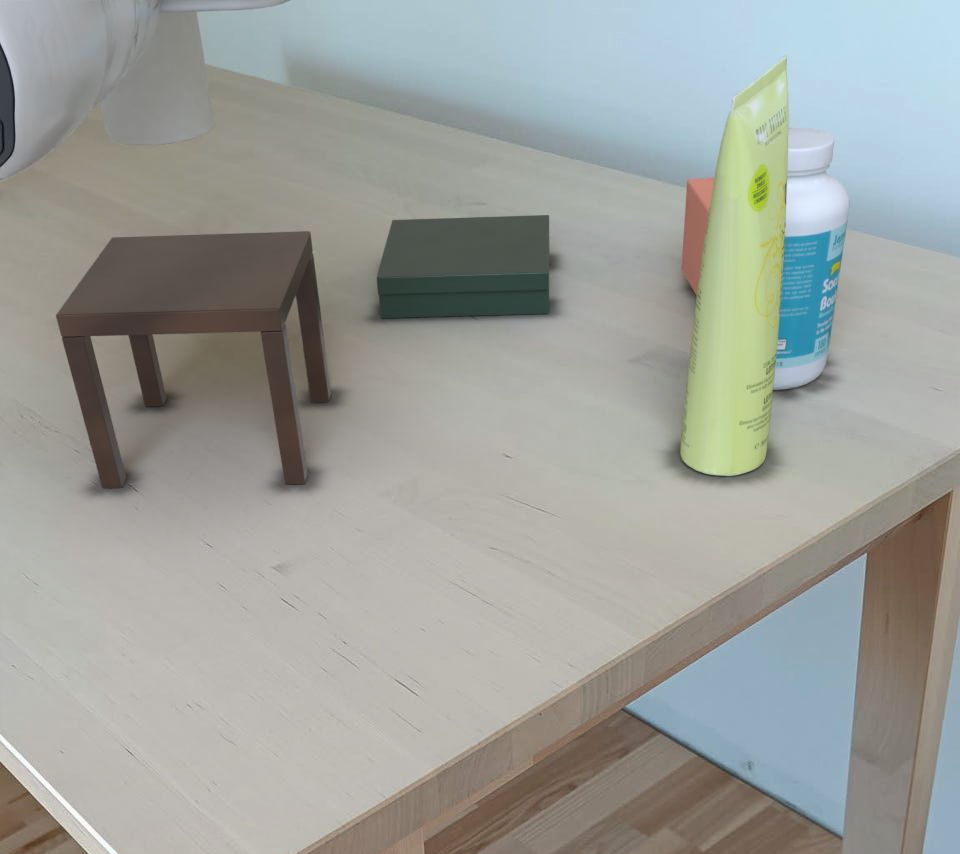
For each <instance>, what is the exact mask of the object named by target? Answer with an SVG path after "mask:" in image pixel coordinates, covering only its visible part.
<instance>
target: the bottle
mask: <svg viewBox="0 0 960 854" xmlns="http://www.w3.org/2000/svg"><path fill="white" fill-rule="evenodd" d="M205 61H206V60H205V55H204V48H203V43H202V36H201V30H200V24H199V17H198V12H172V13H160V14H159V19H158V23H157V27H156V30H155V34H154V36H153V39H152V41H151V43H150V46H149V48H148V49H147V51H146V53H145V55H144V56H143V57H142V59H141V60H140V62H139V63H138V64H137V65H136V66H135V67H134V68H133V69H132V70H131V72H130V73H129V74H128V75H127V76H126V77H125V78H124V79H123V80H122V81H121V82H120V83H119V84H118V85H117V86H116V87H115V88H114V89H113V91H112V92H111V93H110V94H109V95H108V96H107V97H106V98H105V99H104V100H103V101H102V102H100V103H99V107H100V110H101V115H102V120H103V124H104V125H103V126H104V129H105V130H104V131H105V133H106V136H107V138H108V140H109V139H110V140H111V141H113V142H115V143H119V144H124V145H130V146H131V145H132V146H159V145H167V144H168V145H169V144H175V143H181V142H187V141H191V140H194V139H197V138H199V137H202V136H204V135H206V134H208V133H210V132H211V131H212V130H214V127H215V125H216V124H215V117H214V111H213V103H212V99H211V92H210V85H209V80H208V79H209V78H208V73H207V68H206V62H205Z"/></svg>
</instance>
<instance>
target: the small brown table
mask: <svg viewBox="0 0 960 854" xmlns="http://www.w3.org/2000/svg"><path fill="white" fill-rule="evenodd" d="M313 251H314V249H313V240H312V235H311V231H310V230H302V231H301V230H299V231H269V232H268V231H267V232H241V233H240V232H238V233H212V234H211V233H206V234H205V233H204V234H179V235H178V234H177V235H175V234H173V235H148V236H147V235H146V236H145V235H144V236H141V235H140V236H113V237H111V238H110V240H109V241H108V242H107V244H106V245H105V246H104V248H103V249H102V251H101V252H100V254H98V256H97V258H96V259H95V260H94V262H93V263H92V264H91V266H90V267H89V268H88V270H87V271H86V273H85V274H84V275H83V277H82V278H81V279H80V281H79V282H78V283H77V285H76V287H75V288H74V289H73V291H72V292H71V293H70V295H69V296H68V298H67V299H66V301H64V303H63V305H62V306H61V307H60V309H59V310H58V311H57V313H56V314H55V318H56V322H57V326H58V329H59V333H60V336H61V341H62V344H63V348H64V352H65V355H66V360H67V363H68V367H69V371H70V375H71V378H72V381H73V385H74V390H75V392H76V396H77V400H78V402H79V407H80V411H81V415H82V419H83V423H84V426H85V429H86V433H87V436H88V440H89V445H90V448H91V452H92V455H93V458H94V459H93V460H94V463H95V466H96V470H97V473H98V476H99V481H100V485H101V487H102V489H119V488H123V486H124V484H125V482H126V480H127V474H126V470H125V467H124V462H123V459H122V454H121V451H120V447H119V444H118V439H117V435H116V431H115V428H114V423H113V420H112V415H111V411H110V408H109V404H108V400H107V396H106V393H105V392H106V391H105V388H104V384H103V381H102V376H101V374H100V373H101V372H100V369H99V365H98V360H97V356H96V352H95V349H94V345H93V341H92V337H111V336H115V337H116V336H128V339H129V344H130V348H131V352H132V357H133V361H134V365H135V369H136V375H137V378H138V382H139V386H140V391H141V395H142V399H143V404H144V406H145V407H164V404H165V403H166V400H167V398H168V397H167V394H166V393H167V392H166V388H165V384H164V380H163V375H162V370H161V366H160V362H159V356H158V352H157V348H156V343H155V339H154V335H183V334H184V335H185V334H187V335H189V334H190V335H191V334H192V335H193V334H225V333H226V334H227V333H260V339H261V345H262V351H263V356H264V363H265V369H266V376H267V382H268V388H269V394H270V400H271V407H272V413H273V418H274V424H275V425H274V426H275V431H276V437H277V443H278V448H279V455H280V463H281V468H282V474H283V475H282V476H283V482H284V485H305V484H306V482H307V478H308V474H309V473H308V466H307V459H306V453H305V445H304V438H303V432H302V425H301V418H300V413H299V404H298V399H297V392H296V385H295V378H294V371H293V366H292V357H291V351H290V345H289V338H288V332H287V325H286V322H287V319H288V316H289V313H290V311H291V308H292V306H293V303H294V301H295V299H296V308H297V315H298V322H299V329H300V335H301V343H302V350H303V357H304V358H303V359H304V364H305V372H306V377H307V385H308V386H307V387H308V393H309V400H310V403H329V402H330V399H331V395H332V390H331V383H330V375H329V374H330V373H329V367H328V358H327V351H326V343H325V336H324V328H323V327H324V326H323V318H322V313H321V311H322V310H321V305H320V304H321V303H320V295H319V288H318V281H317V273H316V265H315V257H314V253H313Z"/></svg>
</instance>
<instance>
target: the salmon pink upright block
mask: <svg viewBox="0 0 960 854" xmlns="http://www.w3.org/2000/svg"><path fill="white" fill-rule="evenodd" d="M714 178H715V176H713V177H703V178H691V179H687V180H686V190H685V191H686V192H685V207H684V222H683V223H684V225H683V237H682V238H683V239H682V252H681V253H682V254H681V255H682V256H681V272H682V273H683V276H685V278H686V280H687V282H688V284H689V285H690V287H691V289H692V291H693V292H694V293H695V294H694V295H695V296H696V297H697V291H698V284H699V276H700V269H701V261H702V254H703V247H704V240H705V234H706V227H707V220H708V214H709V208H710V202H711V196H712V190H713V184H714Z"/></svg>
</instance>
